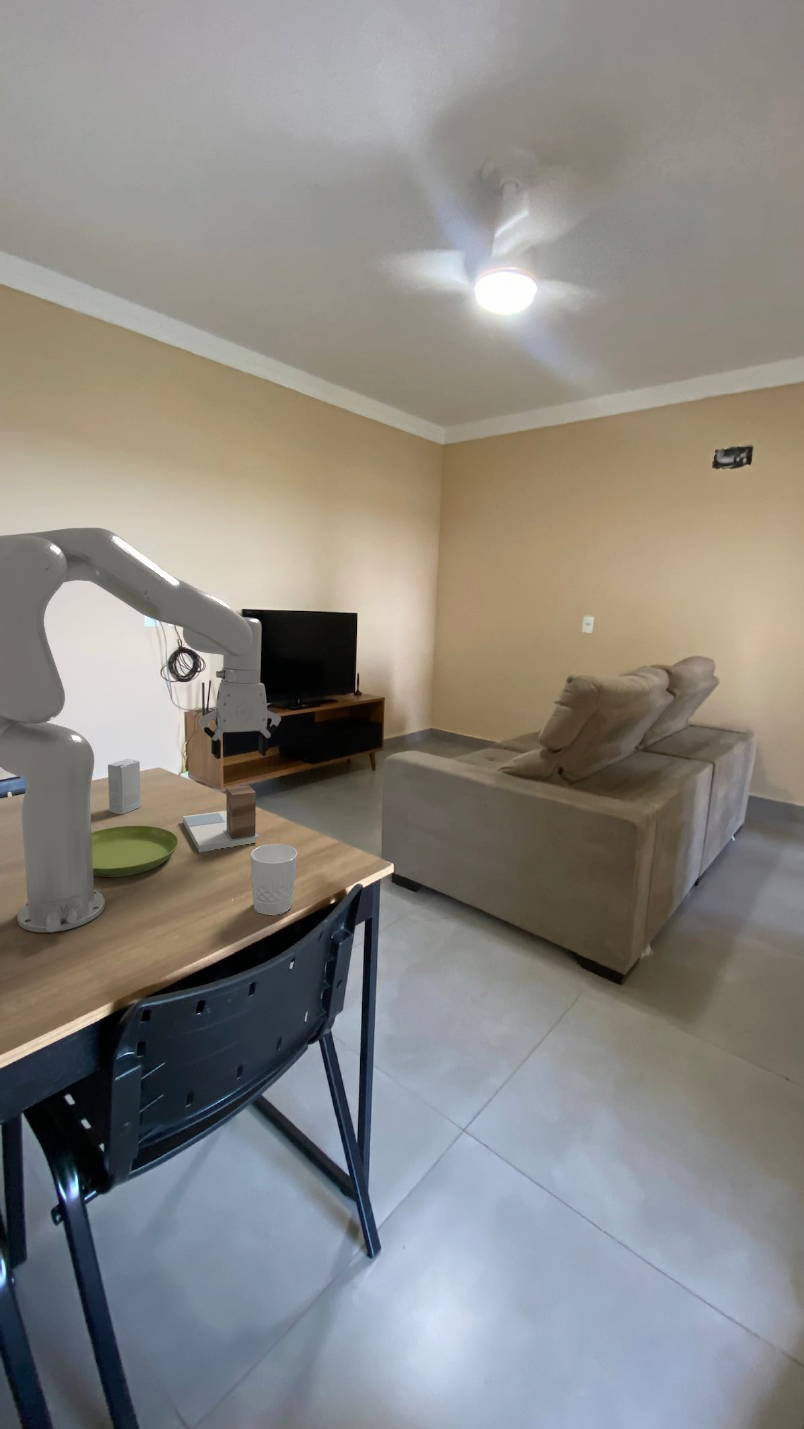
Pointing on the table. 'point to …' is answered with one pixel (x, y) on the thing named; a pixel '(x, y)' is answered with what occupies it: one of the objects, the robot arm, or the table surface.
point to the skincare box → (124, 786)
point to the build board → (212, 831)
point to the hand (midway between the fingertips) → (240, 756)
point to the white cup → (273, 878)
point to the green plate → (130, 849)
